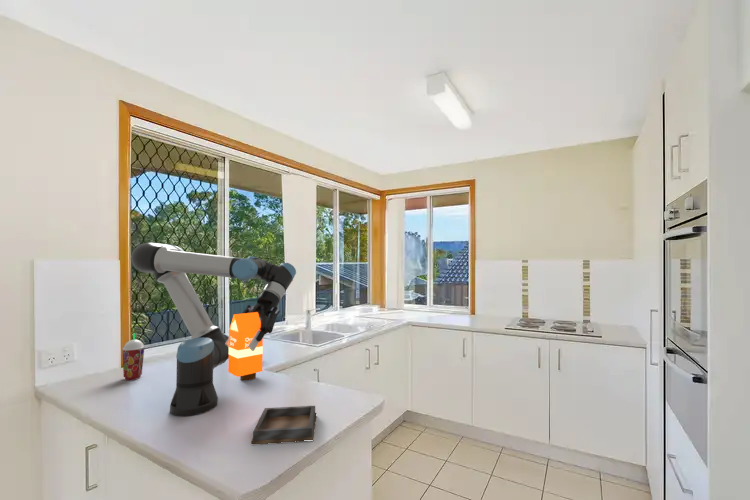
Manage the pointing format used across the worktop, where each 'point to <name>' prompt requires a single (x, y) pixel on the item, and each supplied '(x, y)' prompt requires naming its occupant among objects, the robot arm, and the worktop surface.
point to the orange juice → (244, 345)
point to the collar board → (285, 425)
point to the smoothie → (133, 359)
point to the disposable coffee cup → (248, 377)
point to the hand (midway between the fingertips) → (239, 347)
